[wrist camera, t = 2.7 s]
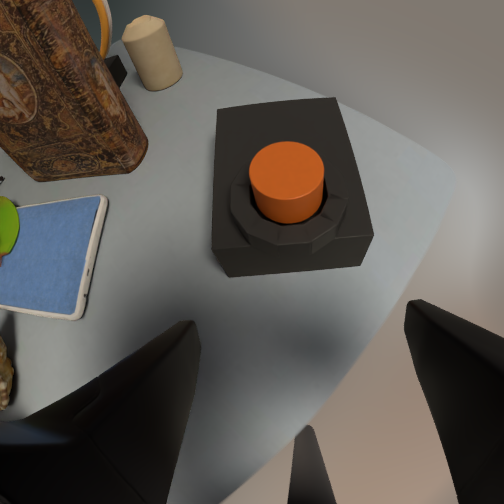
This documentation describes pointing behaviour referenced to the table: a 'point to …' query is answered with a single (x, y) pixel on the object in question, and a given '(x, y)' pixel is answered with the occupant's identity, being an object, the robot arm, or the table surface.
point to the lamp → (109, 42)
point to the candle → (152, 52)
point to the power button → (287, 181)
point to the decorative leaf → (7, 226)
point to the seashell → (5, 376)
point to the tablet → (53, 257)
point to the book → (61, 97)
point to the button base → (281, 234)
